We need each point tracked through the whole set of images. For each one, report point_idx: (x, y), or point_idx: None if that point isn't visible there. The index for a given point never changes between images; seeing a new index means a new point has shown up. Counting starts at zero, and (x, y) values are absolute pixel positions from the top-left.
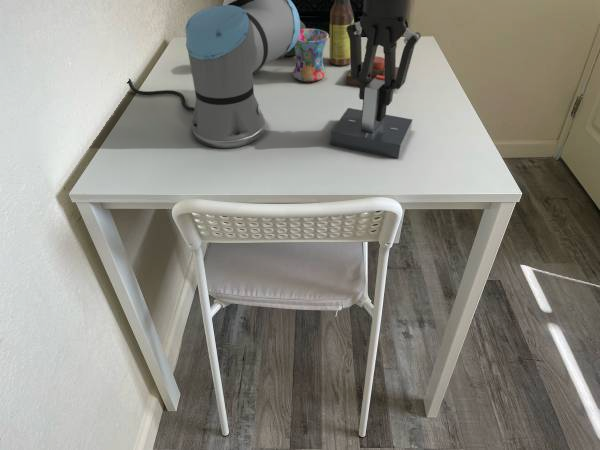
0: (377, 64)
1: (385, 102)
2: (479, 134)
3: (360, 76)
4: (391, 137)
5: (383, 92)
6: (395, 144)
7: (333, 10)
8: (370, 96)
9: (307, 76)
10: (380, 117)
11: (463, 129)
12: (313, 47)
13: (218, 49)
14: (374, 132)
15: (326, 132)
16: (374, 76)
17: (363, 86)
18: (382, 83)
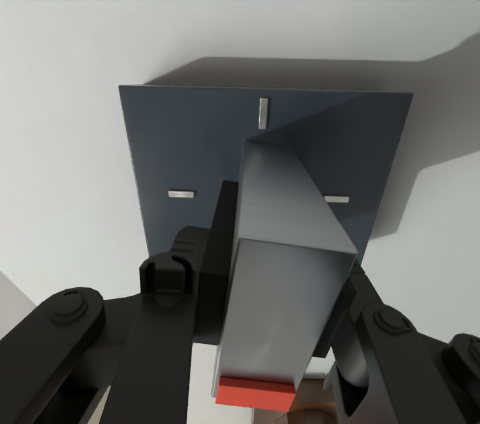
0: None
1: (201, 235)
2: (16, 278)
3: (435, 366)
4: (170, 134)
5: (205, 262)
6: (137, 86)
7: None
8: (287, 208)
9: None
10: (222, 187)
11: (57, 287)
12: None
13: None
14: (239, 147)
15: (402, 165)
16: (306, 412)
17: (358, 300)
18: (229, 337)
